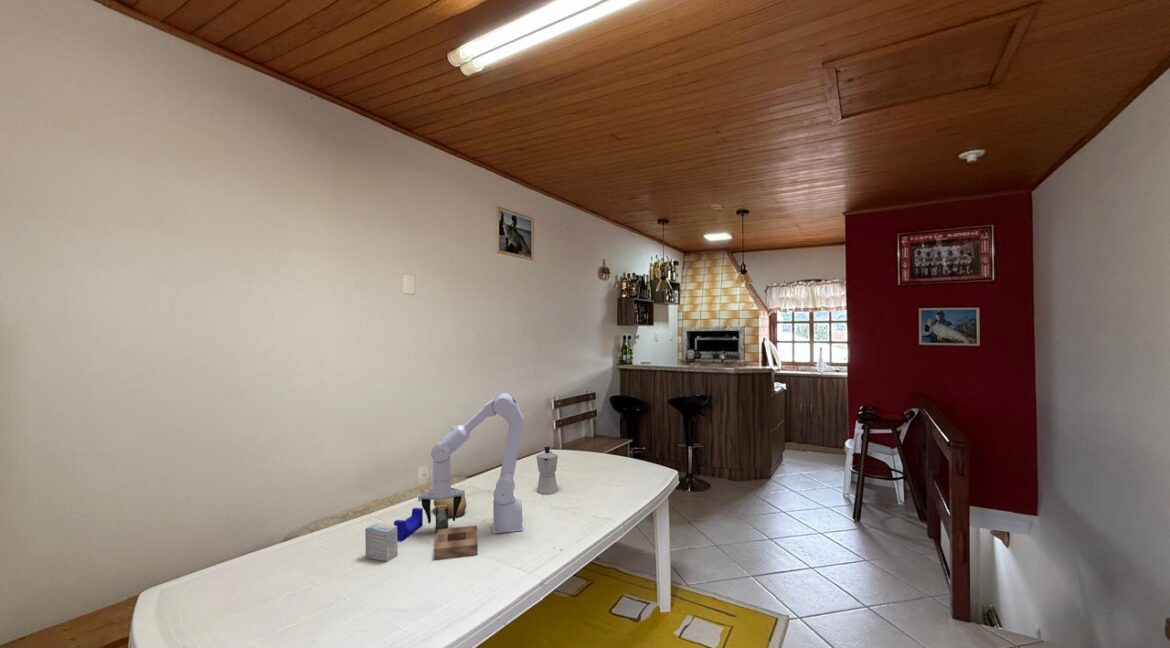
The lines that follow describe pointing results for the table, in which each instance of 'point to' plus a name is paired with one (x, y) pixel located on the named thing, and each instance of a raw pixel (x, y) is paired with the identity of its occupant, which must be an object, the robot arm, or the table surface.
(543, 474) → the coffee maker
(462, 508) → the bread roll
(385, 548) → the medicine box
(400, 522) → the blue cradle block
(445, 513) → the peg
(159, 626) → the table surface
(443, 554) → the dock plate
